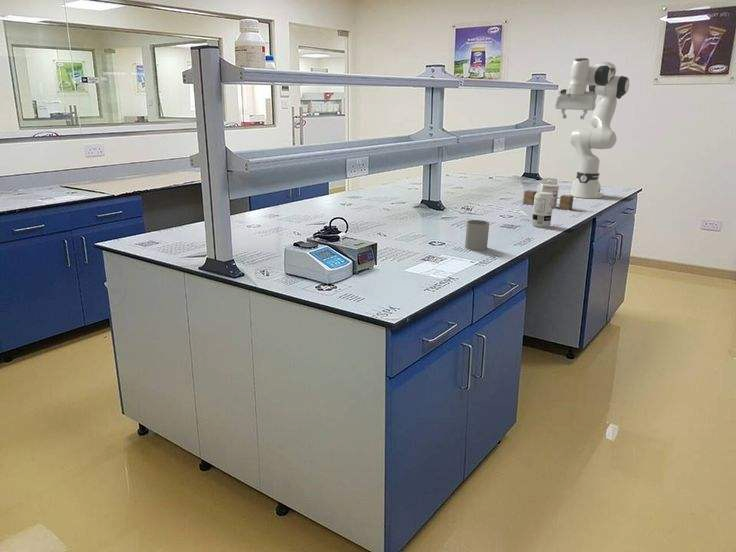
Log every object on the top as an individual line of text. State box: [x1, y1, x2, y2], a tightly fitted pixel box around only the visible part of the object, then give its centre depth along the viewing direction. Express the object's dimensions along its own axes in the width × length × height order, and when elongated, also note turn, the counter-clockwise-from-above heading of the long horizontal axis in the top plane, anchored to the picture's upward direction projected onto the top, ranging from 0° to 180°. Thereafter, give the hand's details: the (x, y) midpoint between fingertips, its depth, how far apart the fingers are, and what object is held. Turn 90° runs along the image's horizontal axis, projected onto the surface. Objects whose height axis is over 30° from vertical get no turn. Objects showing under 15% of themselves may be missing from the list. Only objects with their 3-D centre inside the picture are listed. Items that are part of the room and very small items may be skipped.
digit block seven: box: [522, 189, 538, 206], centre depth 310 cm, size 5×5×7 cm
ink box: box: [539, 177, 559, 208], centre depth 303 cm, size 9×5×15 cm, turn 84°
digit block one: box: [558, 194, 575, 211], centre depth 298 cm, size 5×5×7 cm
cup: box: [464, 219, 490, 252], centre depth 217 cm, size 8×8×10 cm
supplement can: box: [531, 191, 554, 229], centre depth 257 cm, size 8×8×15 cm
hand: (573, 118), depth 300 cm, fingers open, 8 cm apart
